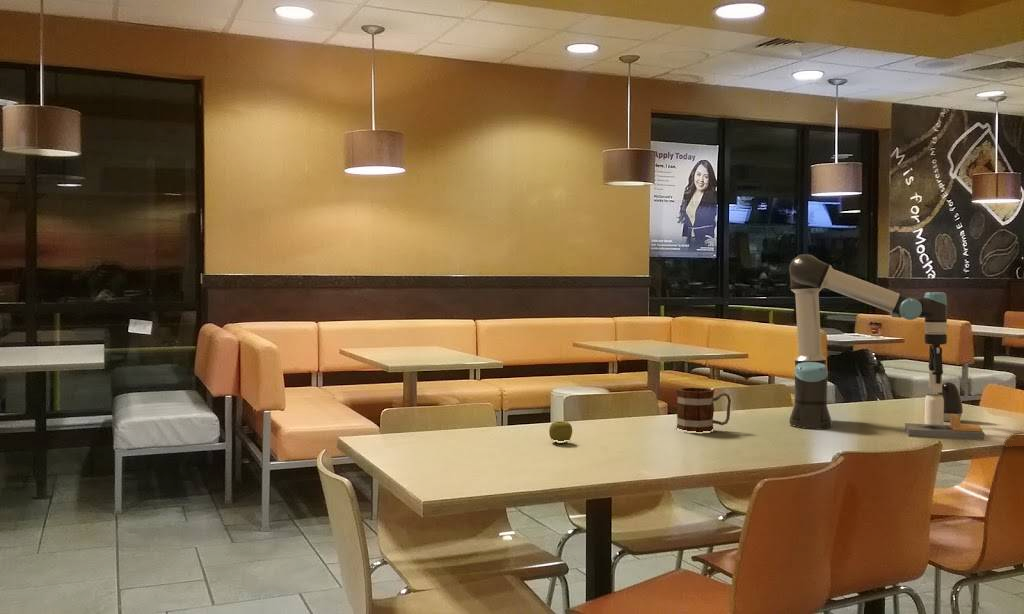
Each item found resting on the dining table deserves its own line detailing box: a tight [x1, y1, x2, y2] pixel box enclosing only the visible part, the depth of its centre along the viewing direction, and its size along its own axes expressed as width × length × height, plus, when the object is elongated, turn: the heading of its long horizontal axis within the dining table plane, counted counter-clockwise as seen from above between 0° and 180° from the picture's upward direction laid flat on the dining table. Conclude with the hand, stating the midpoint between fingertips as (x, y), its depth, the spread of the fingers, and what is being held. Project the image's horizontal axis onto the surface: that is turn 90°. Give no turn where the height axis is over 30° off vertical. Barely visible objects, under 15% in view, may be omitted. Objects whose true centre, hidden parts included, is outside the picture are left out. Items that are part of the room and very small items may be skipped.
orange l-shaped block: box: [949, 414, 983, 432], centre depth 322 cm, size 9×9×4 cm
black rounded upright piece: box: [936, 381, 964, 423], centre depth 356 cm, size 10×10×15 cm
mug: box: [676, 387, 732, 432], centre depth 332 cm, size 20×14×15 cm
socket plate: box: [904, 422, 985, 441], centre depth 325 cm, size 24×14×2 cm, turn 72°
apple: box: [548, 421, 573, 441], centre depth 307 cm, size 8×8×7 cm
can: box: [923, 393, 944, 425], centre depth 342 cm, size 6×6×12 cm
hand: (935, 390), depth 341 cm, fingers open, 13 cm apart
